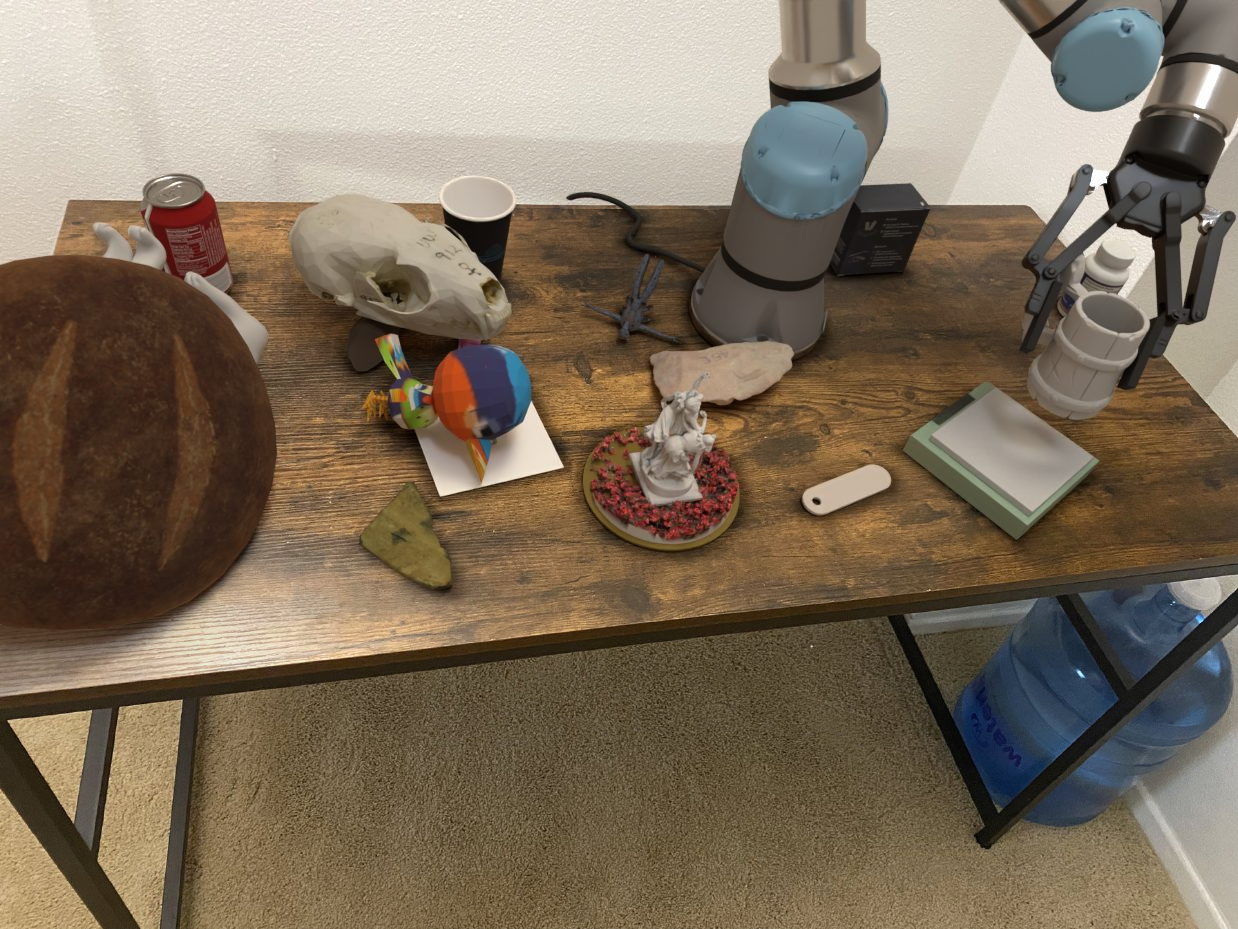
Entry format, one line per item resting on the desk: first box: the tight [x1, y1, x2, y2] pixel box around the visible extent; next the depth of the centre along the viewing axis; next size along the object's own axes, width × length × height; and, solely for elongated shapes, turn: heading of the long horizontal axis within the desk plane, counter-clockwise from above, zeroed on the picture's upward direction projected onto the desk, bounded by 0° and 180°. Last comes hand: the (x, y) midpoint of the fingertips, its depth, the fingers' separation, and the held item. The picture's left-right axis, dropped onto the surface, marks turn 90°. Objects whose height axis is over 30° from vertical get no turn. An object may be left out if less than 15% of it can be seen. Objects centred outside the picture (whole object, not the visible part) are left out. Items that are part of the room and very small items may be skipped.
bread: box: [0, 254, 278, 632], centre depth 67 cm, size 28×27×9 cm
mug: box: [1021, 252, 1150, 421], centre depth 85 cm, size 8×12×12 cm, turn 22°
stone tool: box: [649, 341, 794, 406], centre depth 96 cm, size 9×5×15 cm
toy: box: [361, 334, 533, 484], centre depth 84 cm, size 10×14×15 cm
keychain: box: [801, 464, 892, 516], centre depth 90 cm, size 10×1×3 cm
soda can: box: [139, 172, 234, 295], centre depth 93 cm, size 7×7×12 cm
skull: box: [288, 193, 513, 342], centre depth 89 cm, size 14×24×10 cm, turn 58°
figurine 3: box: [582, 372, 741, 552], centre depth 82 cm, size 15×15×14 cm
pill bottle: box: [1057, 238, 1137, 318], centre depth 111 cm, size 5×5×10 cm
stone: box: [359, 481, 454, 591], centre depth 79 cm, size 12×7×2 cm, turn 24°
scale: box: [902, 380, 1100, 540], centre depth 94 cm, size 14×14×3 cm
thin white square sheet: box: [414, 400, 565, 498], centre depth 88 cm, size 12×12×2 cm
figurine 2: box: [579, 253, 682, 344], centre depth 100 cm, size 12×10×5 cm
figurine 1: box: [345, 292, 404, 372], centre depth 95 cm, size 6×4×12 cm
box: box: [829, 182, 932, 277], centre depth 112 cm, size 9×6×10 cm, turn 104°
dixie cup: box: [438, 174, 517, 282], centre depth 99 cm, size 8×8×11 cm
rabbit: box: [92, 221, 270, 366], centre depth 75 cm, size 12×21×25 cm
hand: (1075, 369), depth 84 cm, fingers closed on mug, 8 cm apart
